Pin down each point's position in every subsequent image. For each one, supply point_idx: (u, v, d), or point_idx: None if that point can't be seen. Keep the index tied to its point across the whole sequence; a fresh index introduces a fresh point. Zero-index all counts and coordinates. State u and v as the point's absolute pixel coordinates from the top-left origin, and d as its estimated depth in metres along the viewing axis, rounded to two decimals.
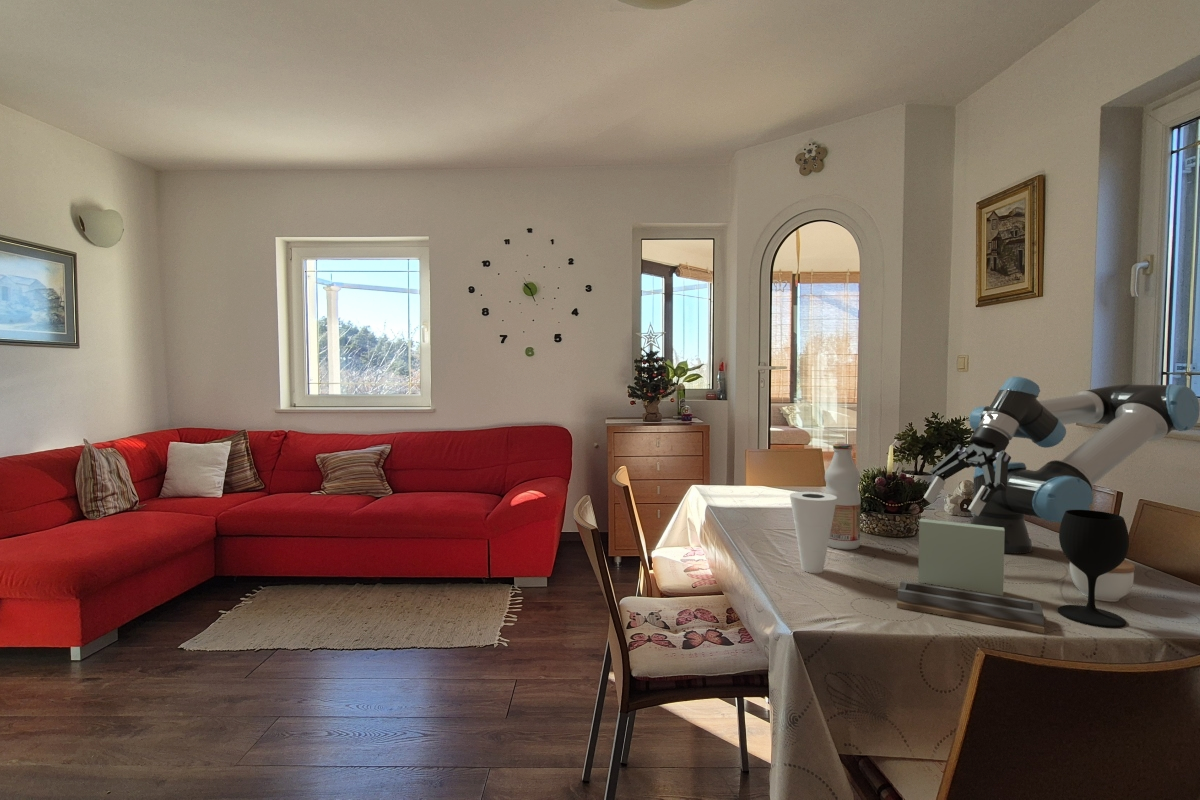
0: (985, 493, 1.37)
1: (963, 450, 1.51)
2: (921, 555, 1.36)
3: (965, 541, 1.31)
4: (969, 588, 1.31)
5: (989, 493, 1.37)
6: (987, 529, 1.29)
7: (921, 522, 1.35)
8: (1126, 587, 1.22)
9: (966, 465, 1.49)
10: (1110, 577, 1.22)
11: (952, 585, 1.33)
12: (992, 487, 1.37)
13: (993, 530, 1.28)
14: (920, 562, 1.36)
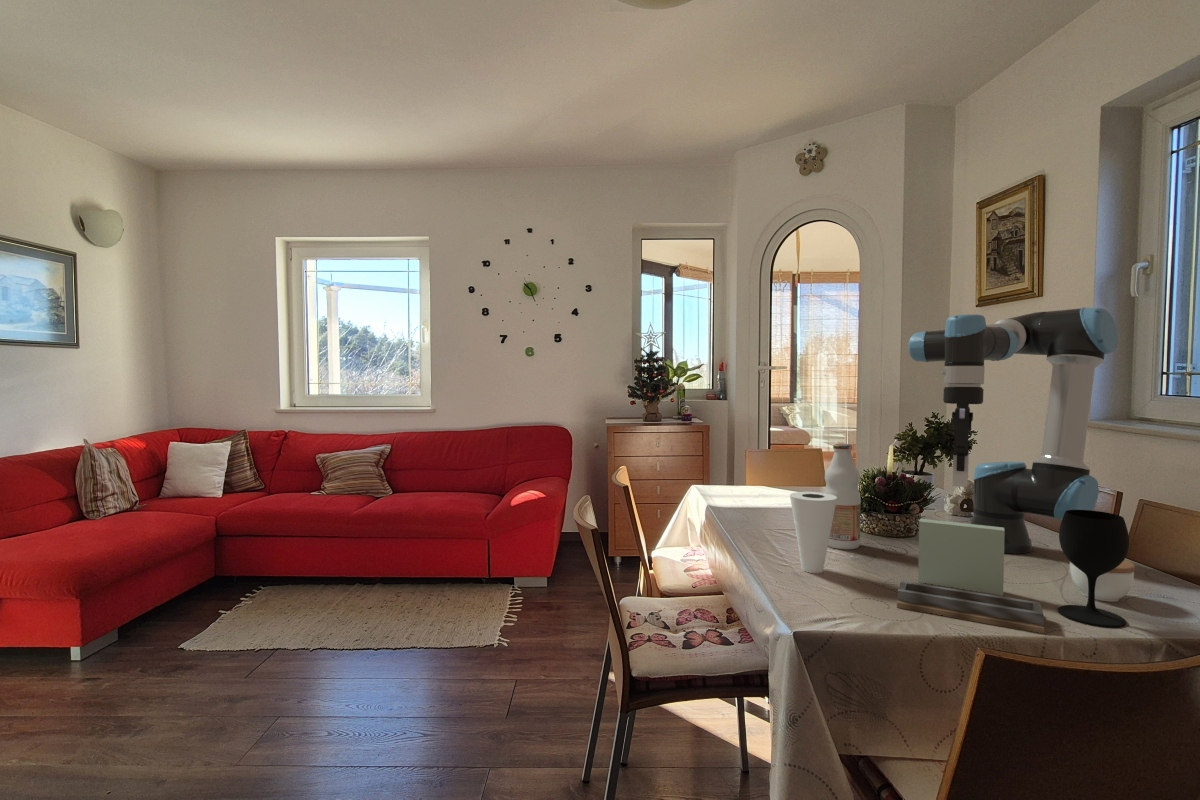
0: (956, 463, 1.26)
1: None
2: (921, 555, 1.36)
3: (965, 541, 1.31)
4: (969, 588, 1.31)
5: (958, 461, 1.26)
6: (987, 529, 1.29)
7: (921, 522, 1.35)
8: (1126, 587, 1.22)
9: None
10: (1110, 577, 1.22)
11: (952, 585, 1.33)
12: (957, 454, 1.26)
13: (993, 530, 1.28)
14: (920, 562, 1.36)
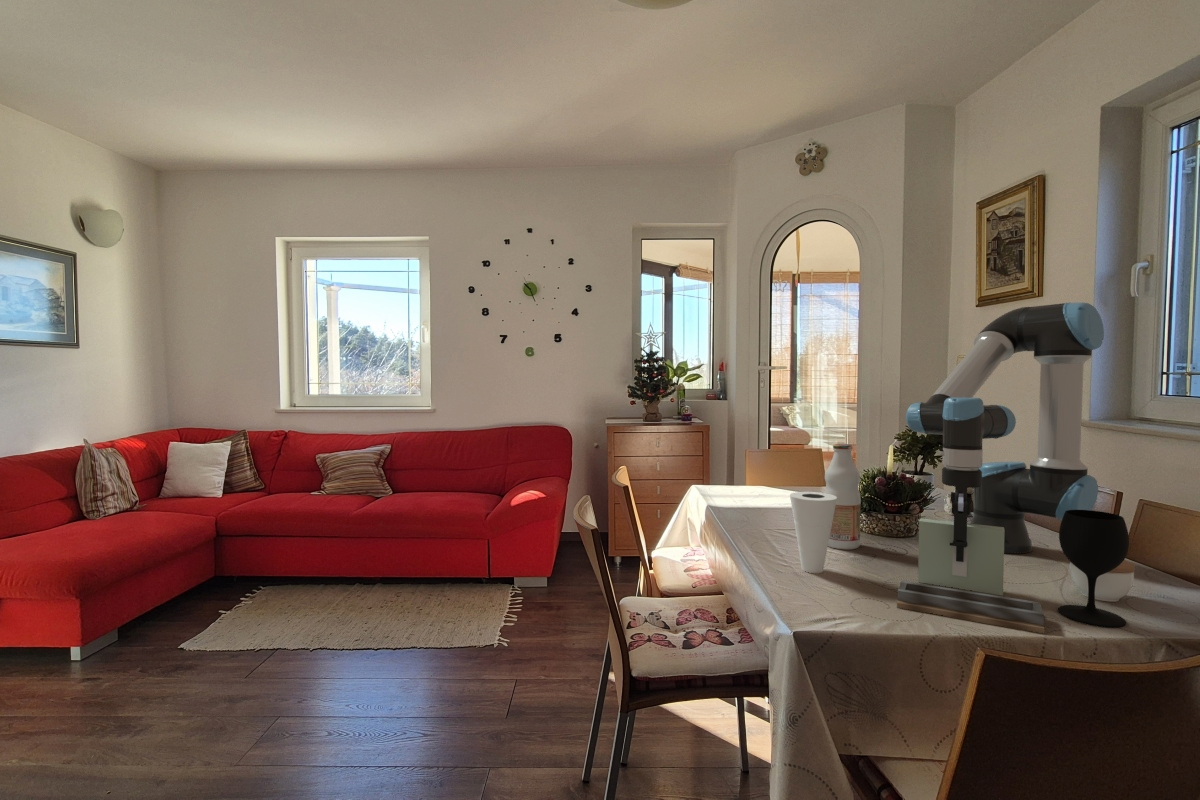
0: (956, 553, 1.31)
1: None
2: (921, 555, 1.35)
3: None
4: (969, 588, 1.31)
5: (957, 552, 1.30)
6: (987, 529, 1.29)
7: (921, 522, 1.35)
8: (1126, 587, 1.22)
9: None
10: (1110, 577, 1.22)
11: (952, 585, 1.33)
12: (956, 545, 1.30)
13: (993, 530, 1.28)
14: (920, 562, 1.36)
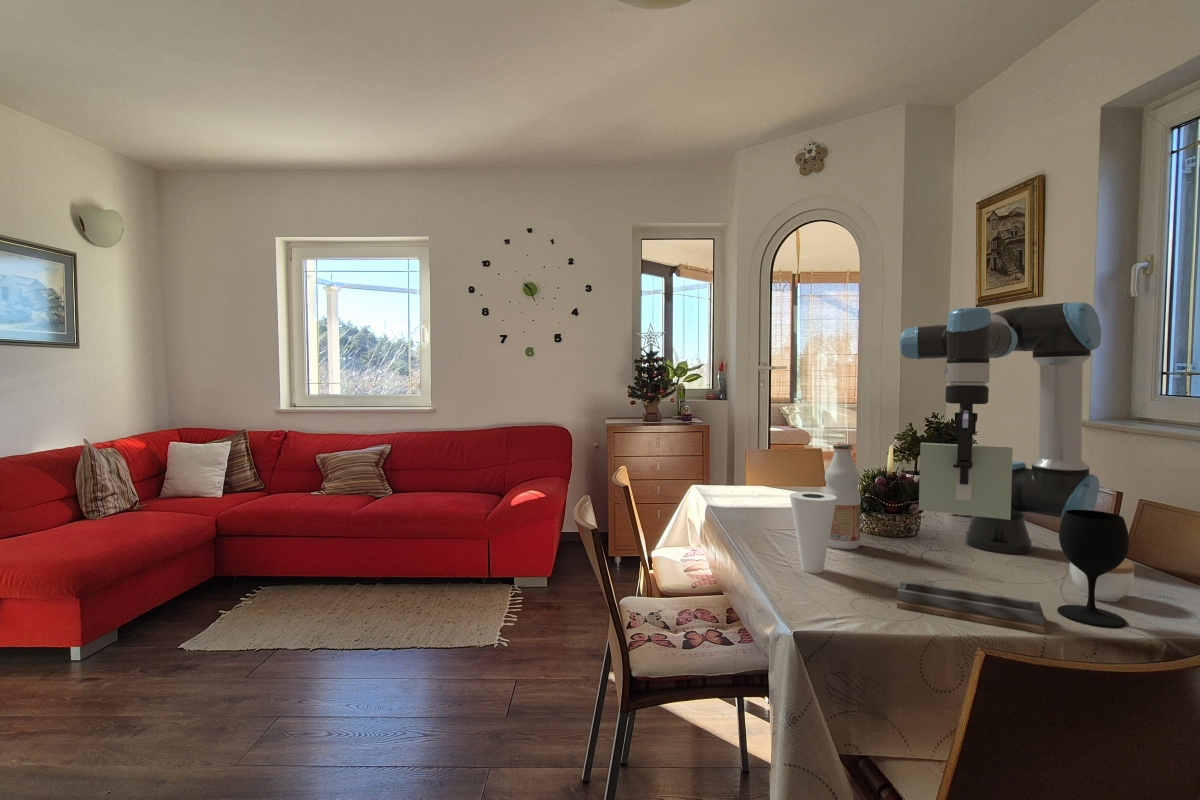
0: (960, 475, 1.21)
1: None
2: (923, 480, 1.26)
3: None
4: (974, 513, 1.21)
5: (962, 474, 1.21)
6: (994, 448, 1.19)
7: (922, 444, 1.26)
8: (1126, 587, 1.22)
9: None
10: (1110, 577, 1.22)
11: (955, 511, 1.23)
12: (960, 467, 1.21)
13: (1000, 449, 1.19)
14: (921, 487, 1.26)
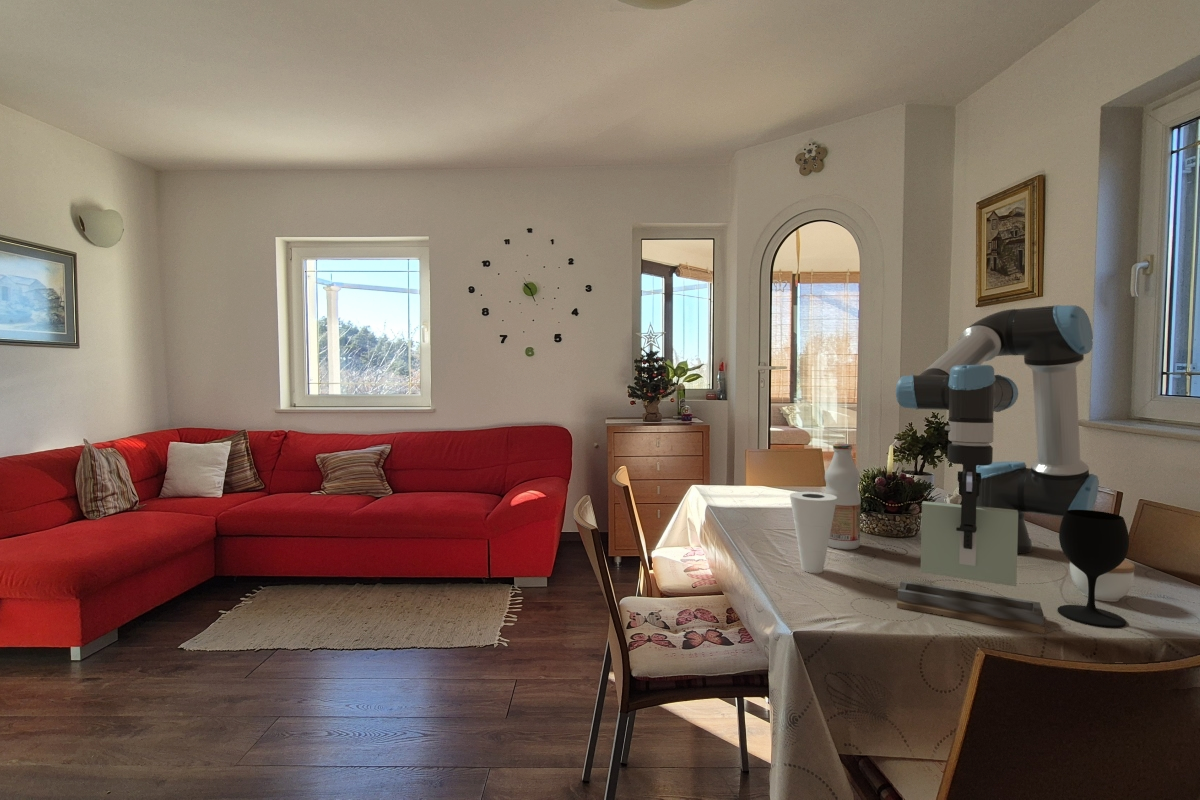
0: (963, 539, 1.17)
1: None
2: (924, 542, 1.21)
3: None
4: (978, 578, 1.17)
5: (965, 538, 1.16)
6: (998, 511, 1.15)
7: (924, 504, 1.21)
8: (1126, 587, 1.22)
9: None
10: (1110, 577, 1.22)
11: (959, 575, 1.18)
12: (964, 530, 1.16)
13: (1005, 512, 1.14)
14: (922, 549, 1.21)
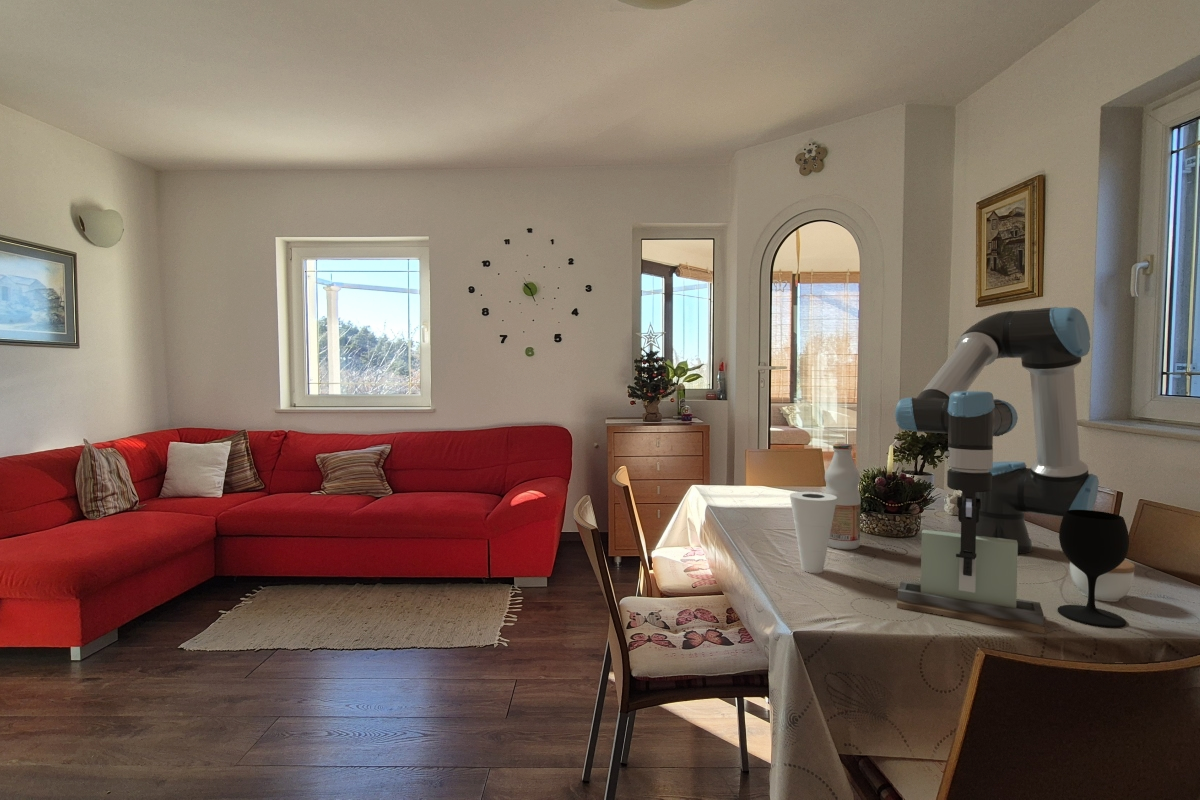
0: (963, 566, 1.16)
1: None
2: (924, 570, 1.22)
3: None
4: None
5: (965, 565, 1.15)
6: (998, 542, 1.15)
7: (924, 533, 1.21)
8: (1126, 587, 1.22)
9: None
10: (1110, 577, 1.22)
11: None
12: (963, 557, 1.15)
13: (1005, 543, 1.14)
14: (922, 578, 1.22)
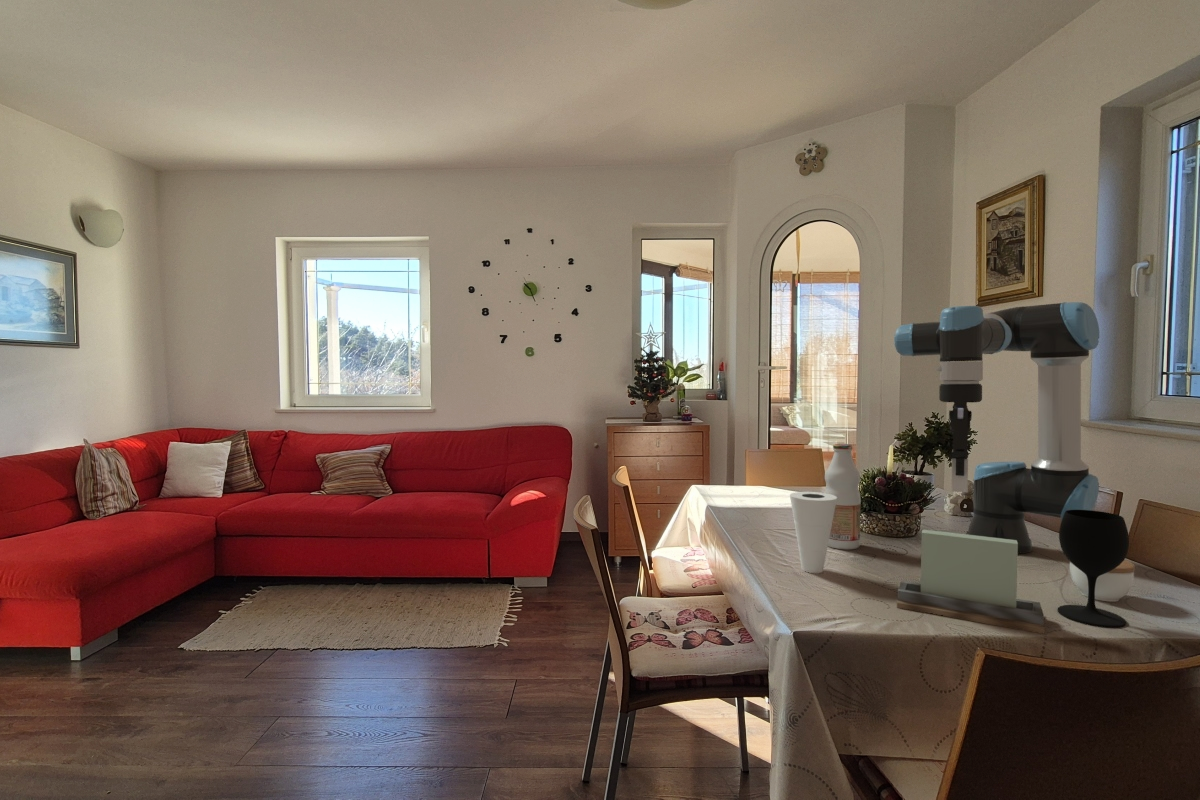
0: (955, 466, 1.17)
1: None
2: (924, 570, 1.22)
3: (973, 555, 1.17)
4: None
5: (957, 465, 1.17)
6: (998, 542, 1.15)
7: (924, 533, 1.21)
8: (1126, 587, 1.22)
9: None
10: (1110, 577, 1.22)
11: None
12: (956, 458, 1.17)
13: (1005, 543, 1.14)
14: (922, 578, 1.22)
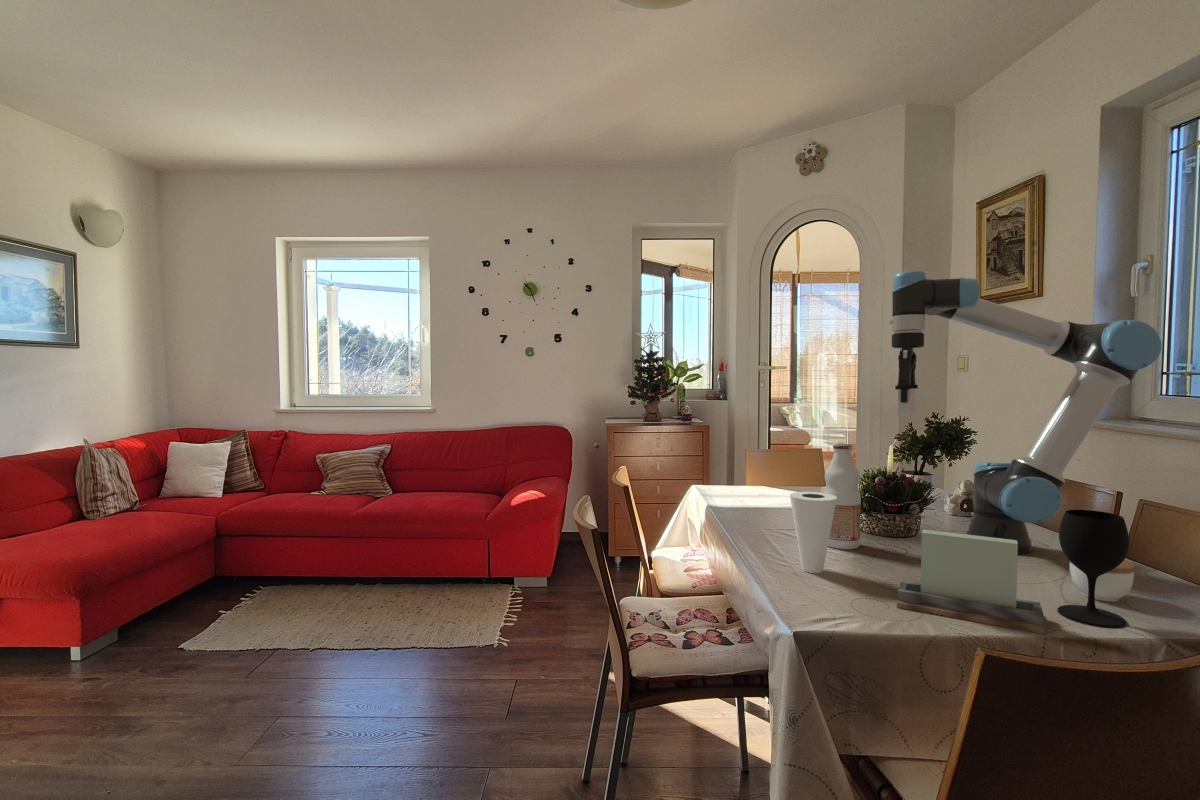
0: (901, 395, 1.50)
1: None
2: (924, 570, 1.22)
3: (973, 555, 1.17)
4: None
5: (902, 394, 1.49)
6: (998, 542, 1.15)
7: (924, 533, 1.21)
8: (1126, 587, 1.22)
9: None
10: (1110, 577, 1.22)
11: None
12: (901, 388, 1.49)
13: (1005, 543, 1.14)
14: (922, 578, 1.22)
